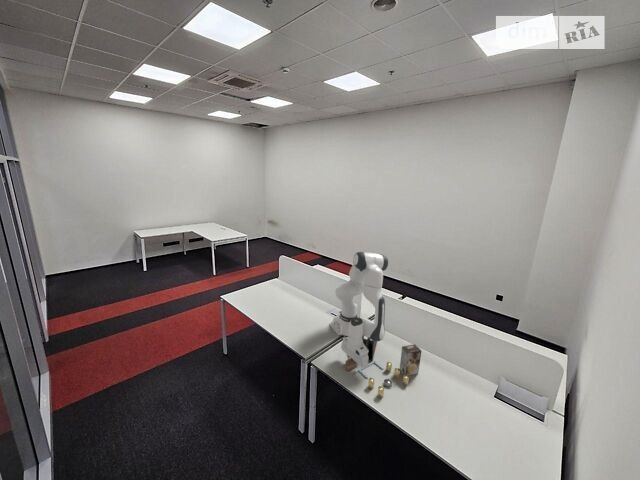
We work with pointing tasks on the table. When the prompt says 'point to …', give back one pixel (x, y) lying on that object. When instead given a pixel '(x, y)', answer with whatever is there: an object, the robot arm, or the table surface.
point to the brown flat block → (350, 364)
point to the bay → (367, 366)
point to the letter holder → (370, 347)
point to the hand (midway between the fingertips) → (353, 364)
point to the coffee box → (410, 360)
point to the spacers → (396, 376)
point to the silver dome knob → (388, 383)
